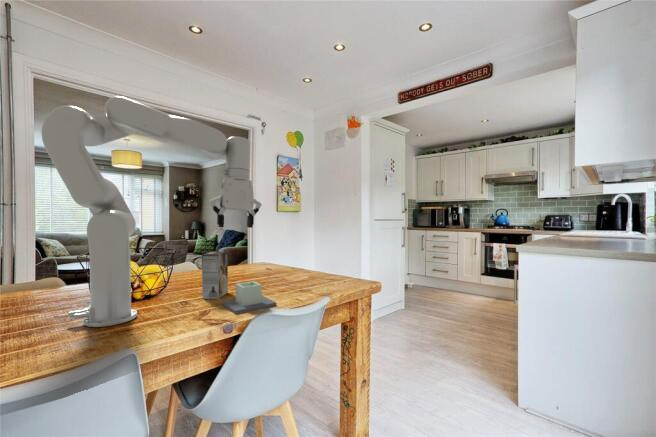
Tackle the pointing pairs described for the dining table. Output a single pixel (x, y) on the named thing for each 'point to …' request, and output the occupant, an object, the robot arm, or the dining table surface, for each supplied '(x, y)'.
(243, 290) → the square sleeve
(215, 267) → the coffee box
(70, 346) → the dining table surface
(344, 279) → the dining table surface
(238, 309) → the base
